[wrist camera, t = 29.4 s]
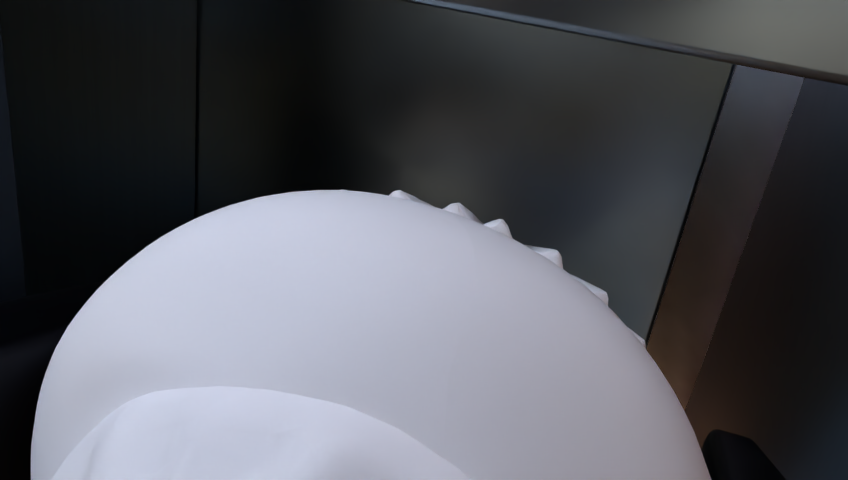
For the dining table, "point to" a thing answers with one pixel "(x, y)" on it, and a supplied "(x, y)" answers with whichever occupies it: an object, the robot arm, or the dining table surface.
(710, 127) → the drawer
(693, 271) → the dining table surface
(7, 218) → the cabinet
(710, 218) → the dining table surface
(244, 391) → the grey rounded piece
